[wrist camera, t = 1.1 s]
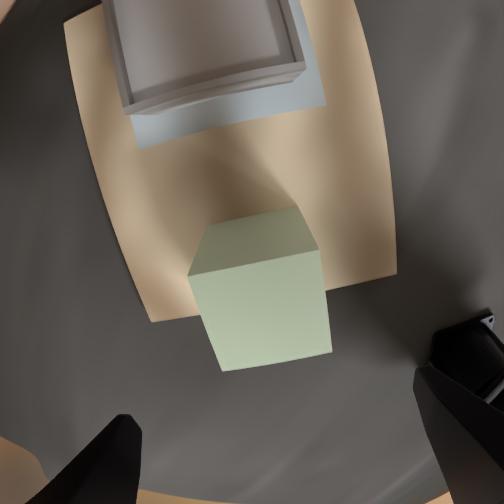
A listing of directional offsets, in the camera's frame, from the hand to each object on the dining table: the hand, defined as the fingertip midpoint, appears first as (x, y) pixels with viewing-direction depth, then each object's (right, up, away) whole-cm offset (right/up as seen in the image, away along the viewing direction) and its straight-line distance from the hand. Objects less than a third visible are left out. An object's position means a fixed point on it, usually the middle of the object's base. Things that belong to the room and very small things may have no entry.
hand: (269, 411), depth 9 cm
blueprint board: (-2, +11, +8) cm, 14 cm away
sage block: (0, +4, +10) cm, 11 cm away
